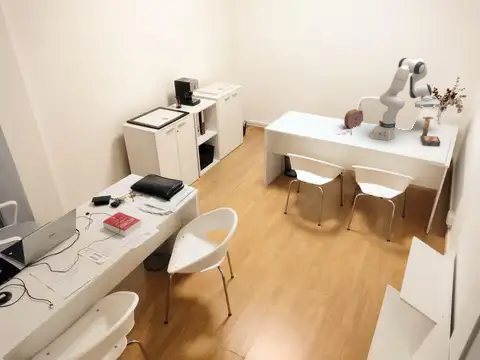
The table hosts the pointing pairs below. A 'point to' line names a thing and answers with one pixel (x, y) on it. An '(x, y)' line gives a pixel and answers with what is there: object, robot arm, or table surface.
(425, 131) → the eyeglasses stand
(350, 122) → the face sculpture
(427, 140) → the display plinth
